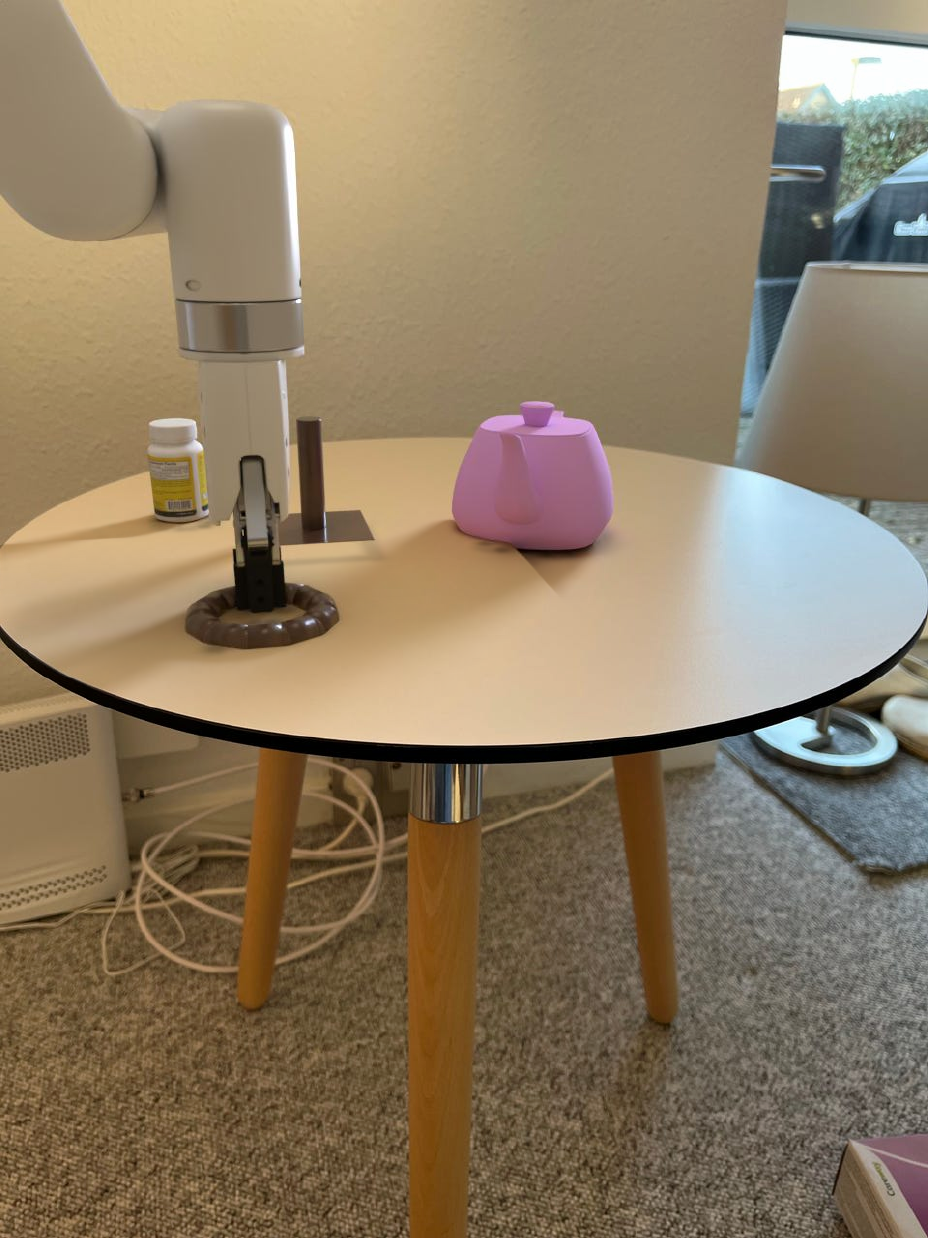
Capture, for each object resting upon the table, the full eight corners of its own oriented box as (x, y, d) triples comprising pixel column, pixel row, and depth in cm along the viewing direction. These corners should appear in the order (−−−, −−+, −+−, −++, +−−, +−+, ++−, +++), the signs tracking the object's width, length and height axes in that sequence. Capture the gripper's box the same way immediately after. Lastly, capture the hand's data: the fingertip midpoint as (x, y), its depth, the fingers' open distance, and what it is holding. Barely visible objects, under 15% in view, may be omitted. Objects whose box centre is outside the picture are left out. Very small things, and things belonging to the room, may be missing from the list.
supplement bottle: (186, 506, 91) (177, 415, 88) (220, 514, 89) (212, 421, 85) (143, 517, 88) (132, 422, 84) (177, 526, 85) (167, 429, 82)
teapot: (420, 565, 76) (419, 421, 72) (483, 500, 94) (485, 382, 90) (592, 581, 73) (601, 432, 69) (623, 511, 91) (632, 389, 87)
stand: (262, 558, 77) (253, 431, 74) (257, 526, 85) (249, 410, 82) (375, 551, 79) (372, 427, 75) (360, 520, 87) (357, 407, 84)
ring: (184, 669, 58) (181, 637, 57) (189, 611, 67) (186, 583, 66) (346, 655, 60) (345, 625, 59) (330, 600, 69) (329, 573, 68)
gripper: (181, 319, 66) (206, 576, 73) (171, 346, 52) (203, 665, 59) (294, 317, 68) (307, 570, 75) (314, 344, 53) (329, 654, 60)
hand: (261, 609), depth 67 cm, fingers closed on ring, 2 cm apart
